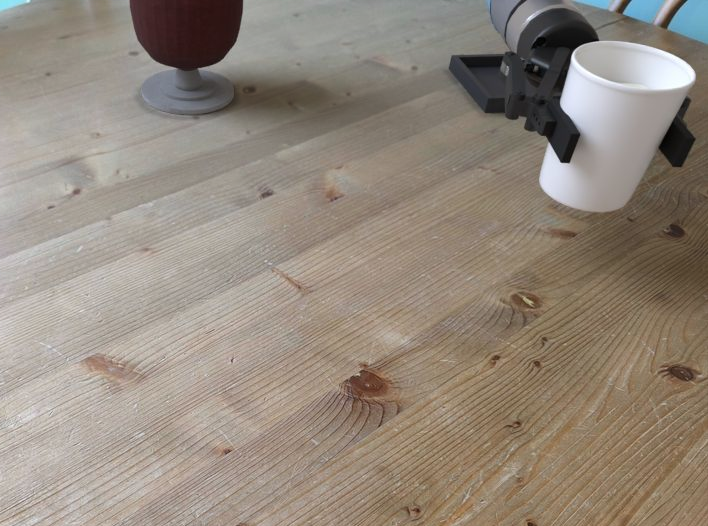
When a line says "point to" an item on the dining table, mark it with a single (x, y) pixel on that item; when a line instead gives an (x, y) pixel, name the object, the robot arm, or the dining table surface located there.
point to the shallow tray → (485, 80)
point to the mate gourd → (187, 51)
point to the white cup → (614, 121)
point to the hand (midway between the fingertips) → (627, 150)
